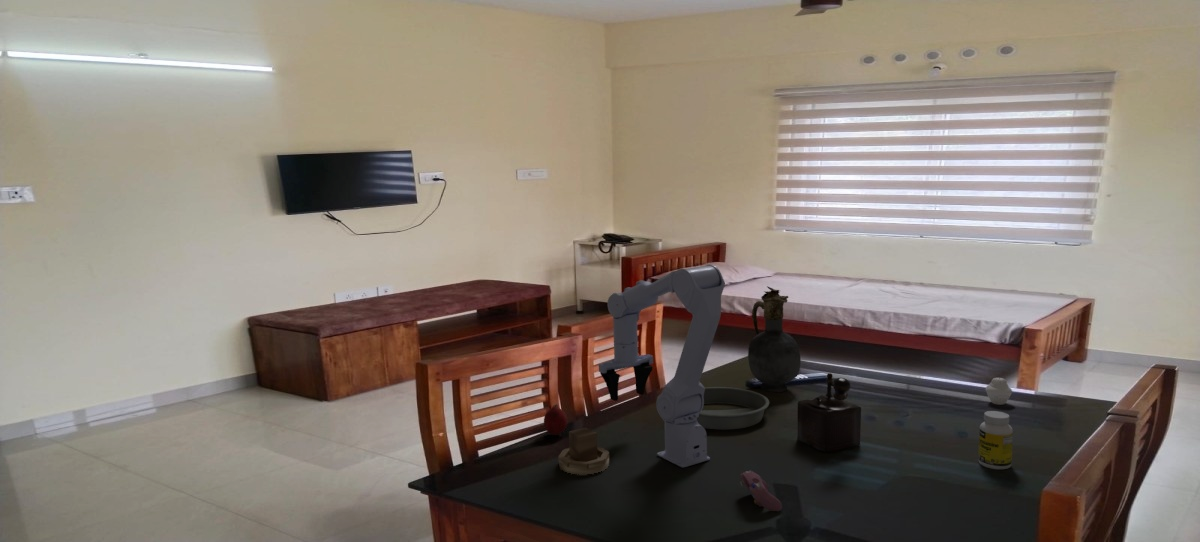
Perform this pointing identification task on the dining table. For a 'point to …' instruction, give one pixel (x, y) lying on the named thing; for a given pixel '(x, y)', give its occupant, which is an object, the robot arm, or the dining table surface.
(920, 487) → the dining table surface
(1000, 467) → the pill bottle
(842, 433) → the manual coffee grinder
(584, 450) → the walnut block
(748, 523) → the dining table surface
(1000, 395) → the white rounded lump
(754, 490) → the pink animal figurine
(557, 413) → the onion
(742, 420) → the cake pan
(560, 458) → the base
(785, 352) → the pitcher
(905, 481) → the dining table surface
